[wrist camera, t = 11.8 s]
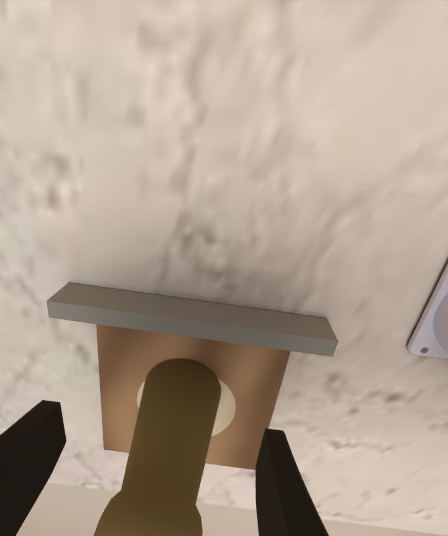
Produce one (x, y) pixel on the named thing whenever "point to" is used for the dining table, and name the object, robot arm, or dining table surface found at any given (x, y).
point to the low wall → (193, 318)
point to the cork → (166, 454)
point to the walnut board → (211, 356)
